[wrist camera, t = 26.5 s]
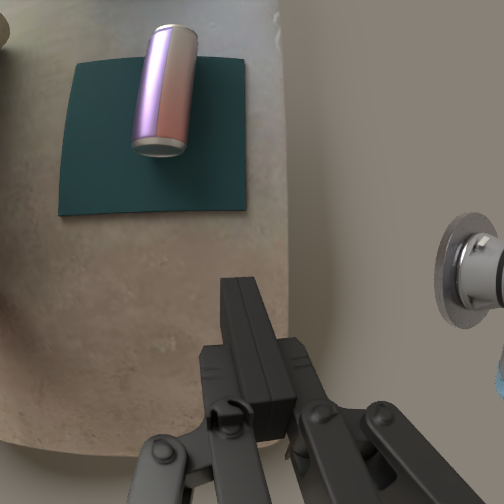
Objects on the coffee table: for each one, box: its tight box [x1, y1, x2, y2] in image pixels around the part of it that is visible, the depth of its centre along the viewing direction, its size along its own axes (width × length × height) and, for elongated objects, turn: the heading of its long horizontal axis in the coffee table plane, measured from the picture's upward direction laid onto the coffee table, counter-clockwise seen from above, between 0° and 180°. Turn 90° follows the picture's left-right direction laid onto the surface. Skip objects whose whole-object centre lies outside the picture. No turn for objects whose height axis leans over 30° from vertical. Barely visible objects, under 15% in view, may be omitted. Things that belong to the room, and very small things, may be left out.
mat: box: [58, 56, 246, 216], centre depth 32 cm, size 22×20×1 cm
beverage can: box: [131, 24, 198, 157], centre depth 29 cm, size 6×6×15 cm
